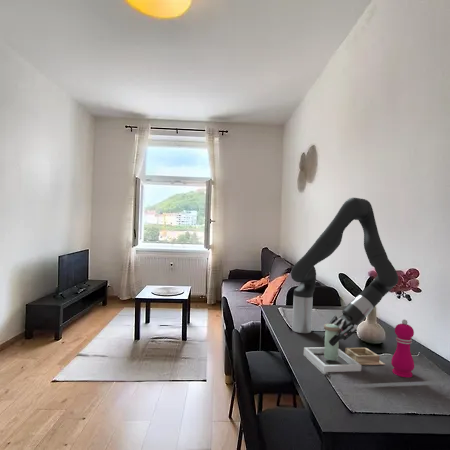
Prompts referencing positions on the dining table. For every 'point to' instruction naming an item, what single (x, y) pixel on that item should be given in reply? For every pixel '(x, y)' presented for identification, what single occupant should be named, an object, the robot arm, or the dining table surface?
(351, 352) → the holder
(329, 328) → the green lidded jar
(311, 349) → the tray
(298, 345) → the dining table surface
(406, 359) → the pepper mill
